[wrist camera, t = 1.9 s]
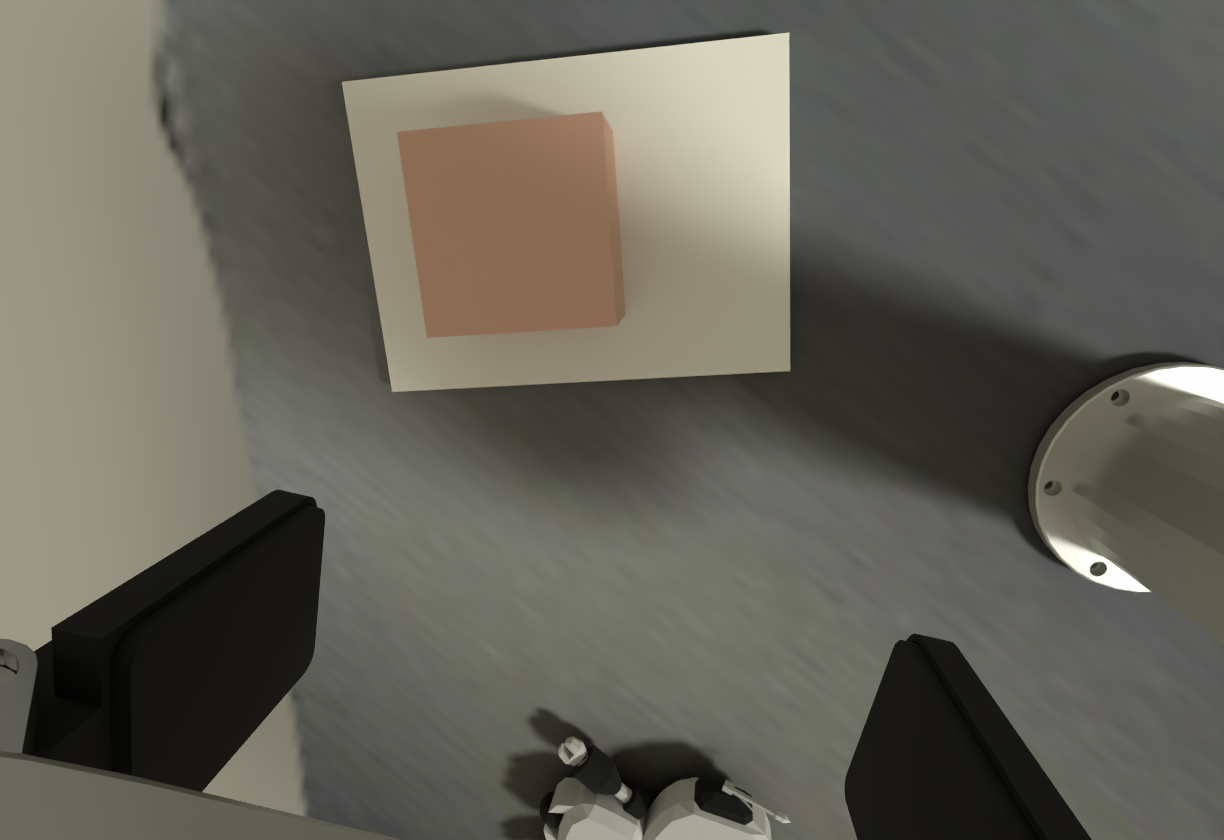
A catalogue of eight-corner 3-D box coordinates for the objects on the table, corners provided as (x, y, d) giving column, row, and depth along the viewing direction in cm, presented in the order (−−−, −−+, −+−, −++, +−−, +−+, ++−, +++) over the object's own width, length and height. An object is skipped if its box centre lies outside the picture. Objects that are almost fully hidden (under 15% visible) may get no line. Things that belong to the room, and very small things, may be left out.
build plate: (785, 39, 31) (789, 32, 30) (787, 367, 35) (790, 370, 34) (351, 86, 34) (341, 82, 33) (399, 388, 38) (392, 391, 37)
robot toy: (532, 837, 47) (736, 911, 45) (513, 896, 42) (737, 980, 41) (571, 698, 43) (792, 773, 42) (554, 747, 39) (800, 833, 38)
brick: (613, 131, 32) (601, 111, 27) (625, 314, 34) (616, 326, 30) (437, 147, 33) (396, 131, 28) (460, 325, 35) (426, 337, 31)
